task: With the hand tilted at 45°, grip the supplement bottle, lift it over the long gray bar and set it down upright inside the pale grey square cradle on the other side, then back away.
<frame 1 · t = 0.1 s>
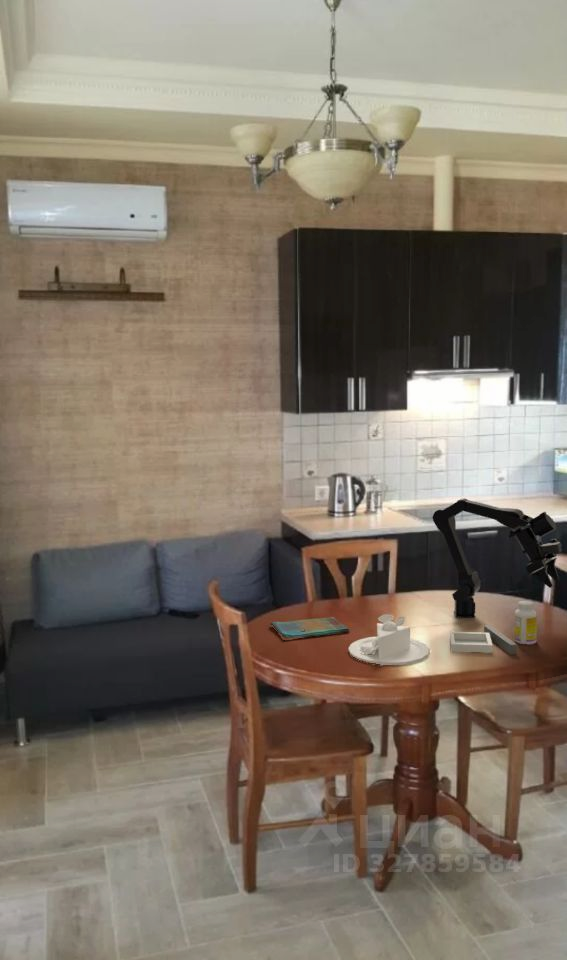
hand: (554, 584, 265), 15 cm above the table, tool tilted 35°, fingers open, 9 cm apart
square cradle: (470, 645, 250), on the table
dish towel: (309, 631, 271), on the table
dish: (388, 653, 247), on the table
long gray bar: (499, 643, 252), on the table
supplement bottle: (525, 642, 253), on the table
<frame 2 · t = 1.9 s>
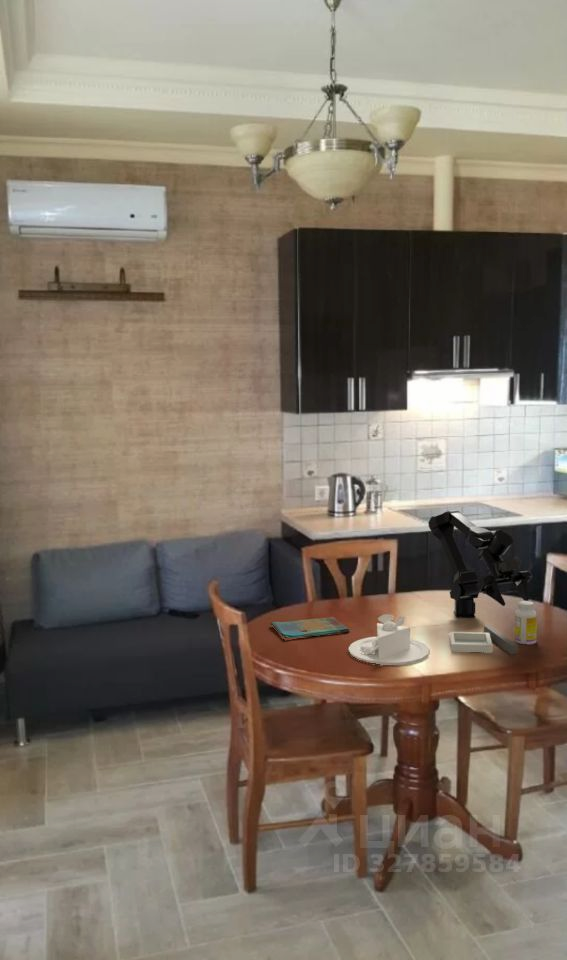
hand: (516, 603, 256), 11 cm above the table, tool tilted 45°, fingers open, 9 cm apart
nothing on the table moved.
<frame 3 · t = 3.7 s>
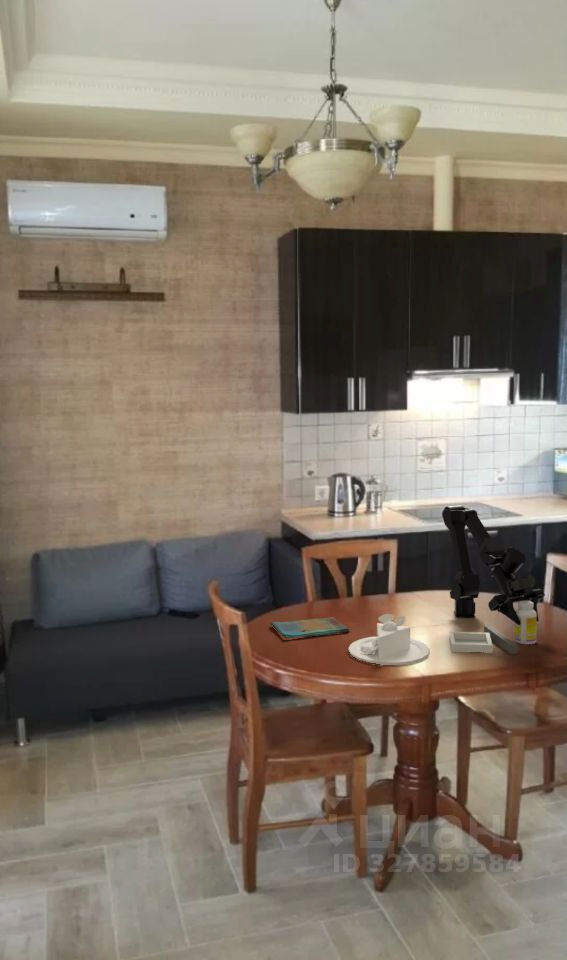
hand: (528, 622, 251), 7 cm above the table, tool tilted 45°, fingers closed on supplement bottle, 7 cm apart
supplement bottle: (525, 642, 253), on the table, touching gripper
everything else where it was.
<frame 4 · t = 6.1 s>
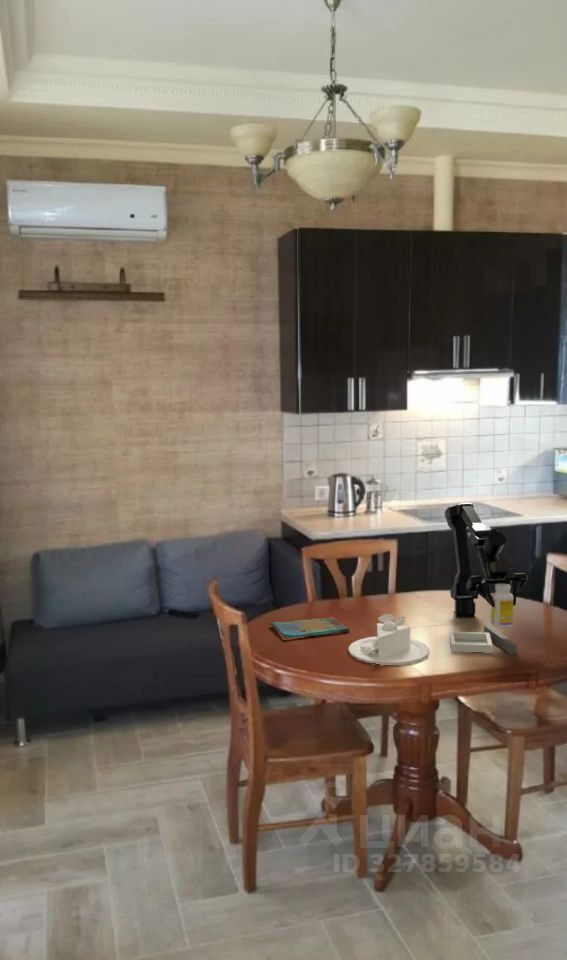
hand: (504, 605, 247), 13 cm above the table, tool tilted 45°, fingers closed on supplement bottle, 7 cm apart
supplement bottle: (501, 625, 249), point 6 cm above the table, touching gripper
everything else where it was.
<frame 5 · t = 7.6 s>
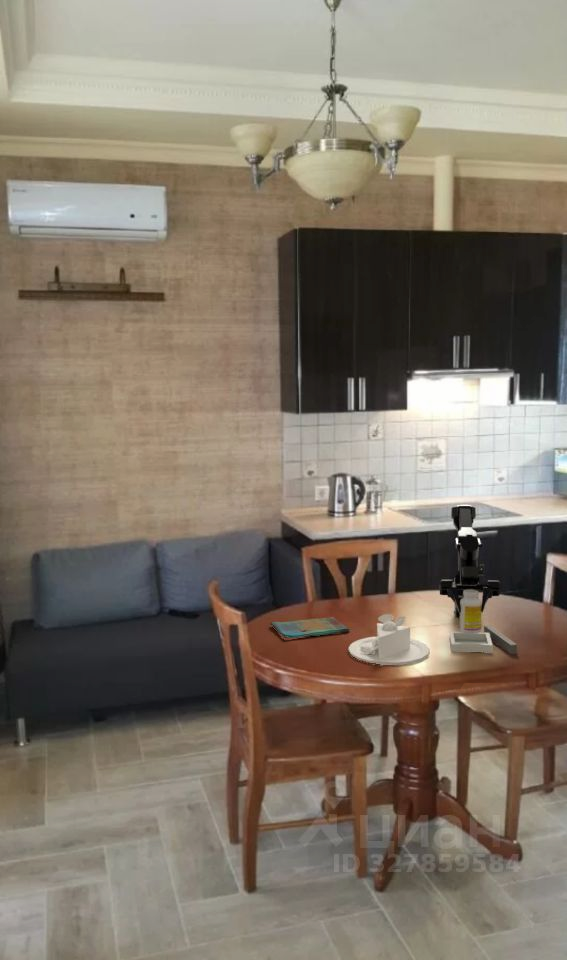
hand: (470, 611, 248), 11 cm above the table, tool tilted 45°, fingers closed on supplement bottle, 7 cm apart
supplement bottle: (470, 631, 250), point 5 cm above the table, touching gripper
everything else where it was.
when the fingers open (8 cm above the table, at t = 8.7 s): supplement bottle drops 1 cm, resting on square cradle.
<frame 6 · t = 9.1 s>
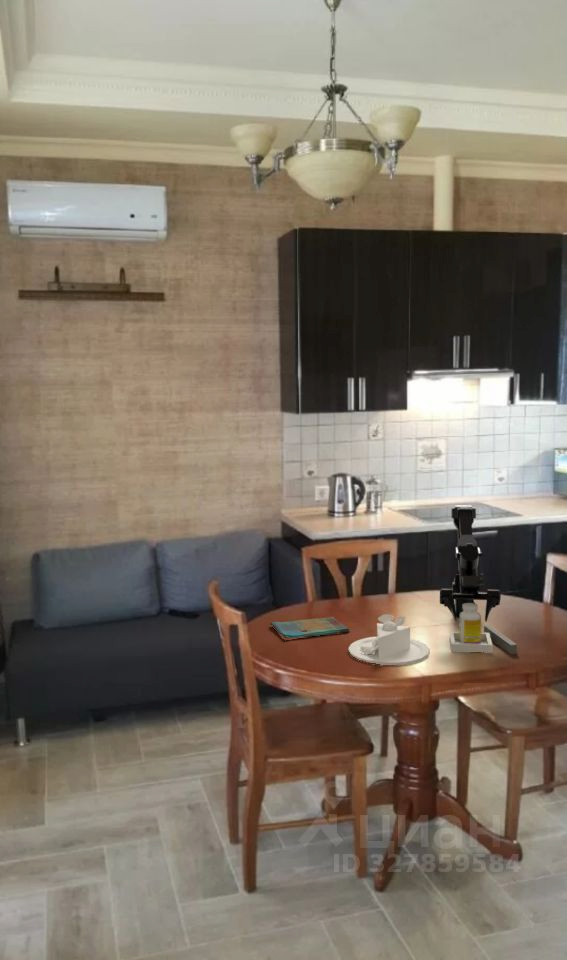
hand: (470, 620, 248), 9 cm above the table, tool tilted 45°, fingers open, 9 cm apart
supplement bottle: (470, 645, 251), resting on square cradle
everything else where it was.
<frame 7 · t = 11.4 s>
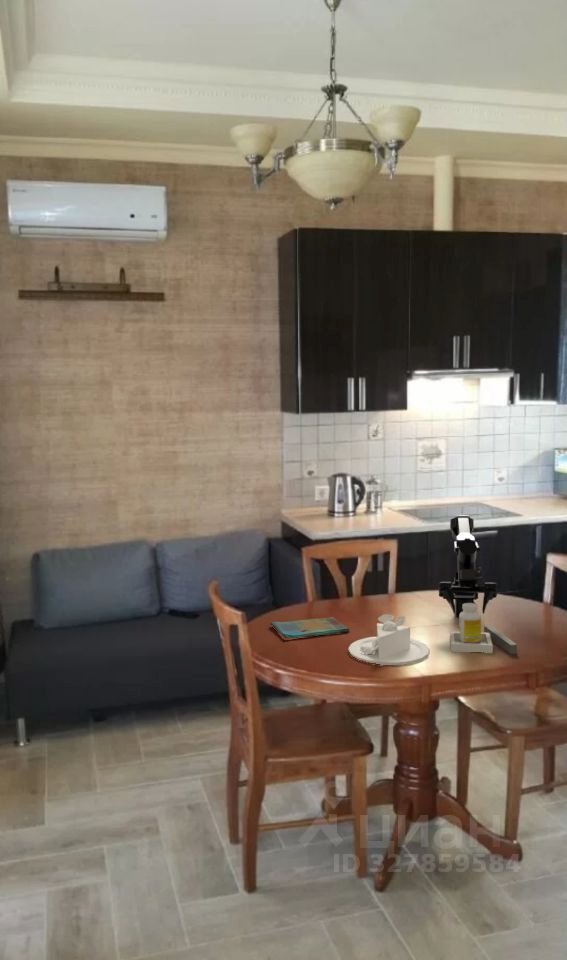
hand: (468, 612, 257), 8 cm above the table, tool tilted 45°, fingers open, 9 cm apart
nothing on the table moved.
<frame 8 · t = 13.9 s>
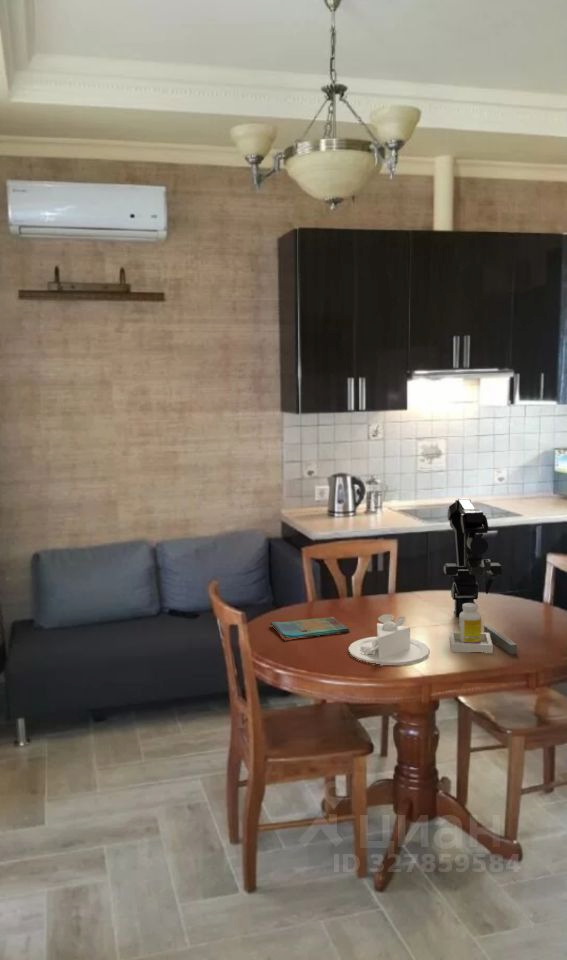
hand: (472, 594, 266), 12 cm above the table, tool pointing down, fingers open, 9 cm apart
nothing on the table moved.
at the end: supplement bottle 0.2 cm off-centre on the square cradle, point 0.2 cm above the square cradle's base; supplement bottle tilted 0°; the gripper is holding nothing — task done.
